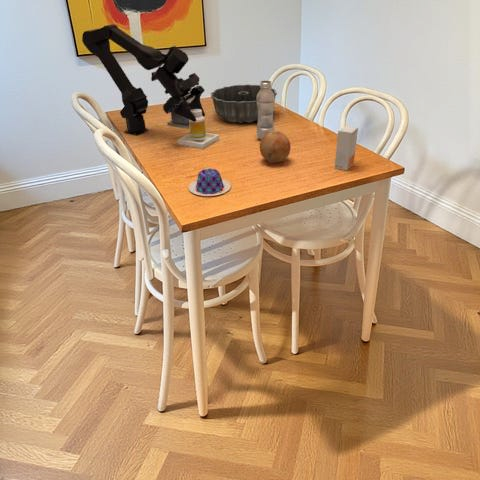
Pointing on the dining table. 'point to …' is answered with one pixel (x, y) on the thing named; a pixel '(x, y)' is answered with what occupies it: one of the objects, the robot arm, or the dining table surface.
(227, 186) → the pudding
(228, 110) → the bundt pan
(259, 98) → the plastic bottle
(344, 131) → the skincare box
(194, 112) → the supplement bottle
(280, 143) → the onion
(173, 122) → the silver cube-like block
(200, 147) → the white tray
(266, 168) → the dining table surface
